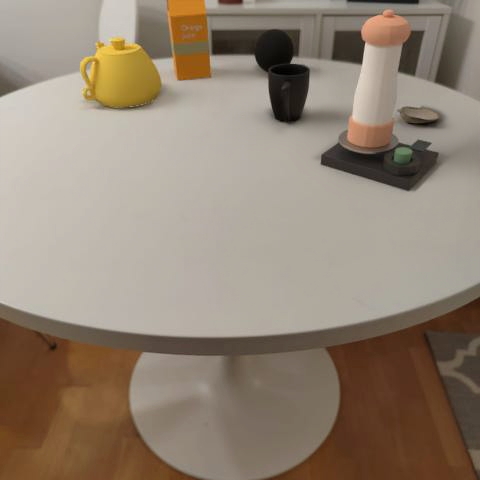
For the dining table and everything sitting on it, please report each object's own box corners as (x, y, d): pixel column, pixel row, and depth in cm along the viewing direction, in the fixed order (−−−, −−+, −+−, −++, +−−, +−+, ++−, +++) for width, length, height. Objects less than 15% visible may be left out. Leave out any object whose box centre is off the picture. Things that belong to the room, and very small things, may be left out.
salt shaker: (397, 136, 78) (424, 8, 66) (377, 151, 74) (401, 17, 62) (360, 126, 82) (378, 3, 69) (338, 140, 78) (353, 12, 65)
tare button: (412, 160, 73) (415, 149, 72) (406, 166, 72) (408, 155, 71) (397, 155, 75) (399, 145, 73) (390, 161, 73) (392, 151, 72)
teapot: (176, 98, 107) (168, 38, 99) (101, 119, 99) (86, 55, 90) (136, 78, 119) (126, 23, 111) (67, 95, 111) (51, 37, 103)
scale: (436, 162, 79) (441, 143, 77) (407, 191, 72) (412, 171, 70) (353, 140, 87) (355, 122, 84) (320, 164, 80) (322, 145, 77)
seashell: (439, 133, 92) (421, 110, 96) (447, 120, 90) (428, 97, 94) (404, 132, 89) (387, 109, 94) (412, 119, 87) (394, 95, 91)
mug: (262, 131, 91) (262, 81, 85) (271, 109, 100) (271, 62, 94) (303, 133, 90) (306, 83, 84) (308, 110, 99) (311, 63, 92)
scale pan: (431, 143, 77) (432, 141, 76) (407, 166, 71) (407, 164, 71) (355, 125, 84) (355, 122, 83) (327, 144, 78) (327, 142, 78)
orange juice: (211, 77, 118) (204, -15, 105) (177, 80, 117) (166, -12, 104) (206, 68, 124) (199, -20, 110) (174, 71, 123) (163, -17, 109)
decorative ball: (295, 67, 122) (297, 25, 116) (289, 79, 115) (291, 35, 108) (258, 66, 124) (258, 24, 117) (251, 77, 117) (250, 34, 110)
